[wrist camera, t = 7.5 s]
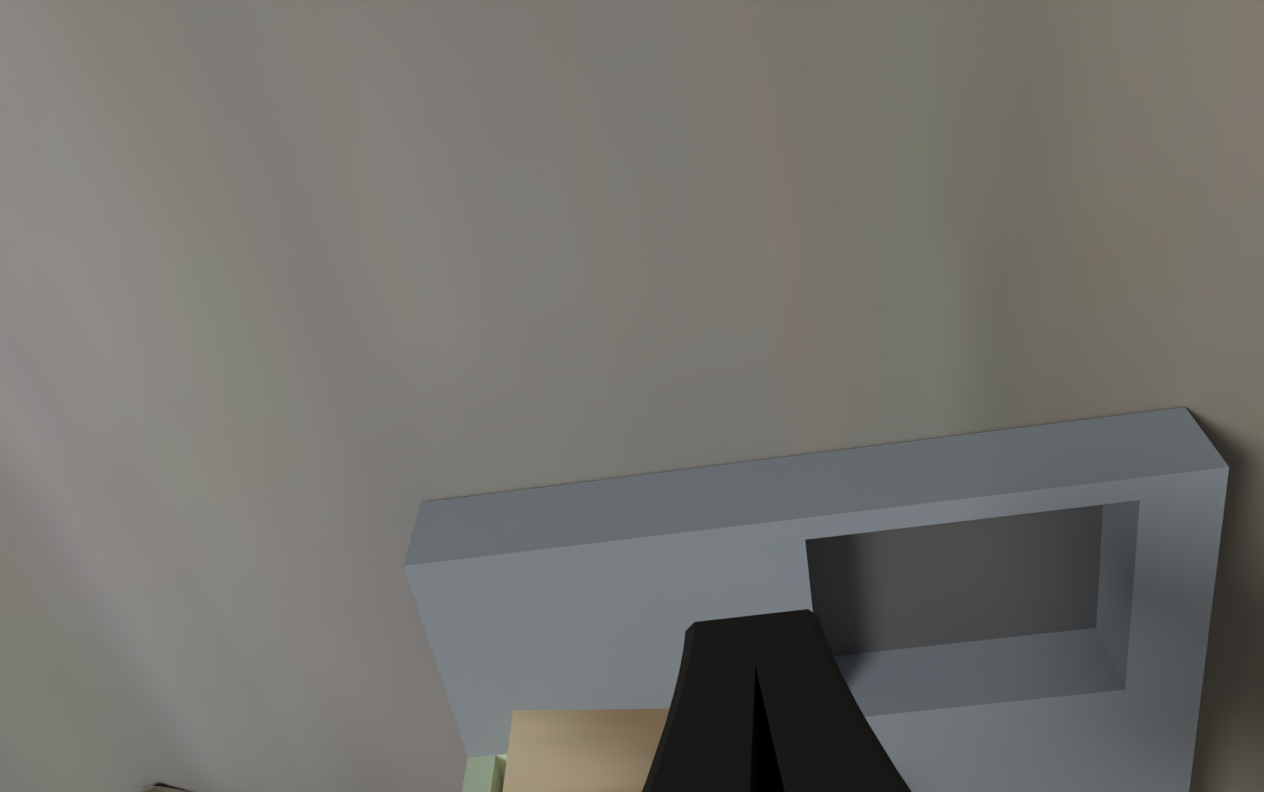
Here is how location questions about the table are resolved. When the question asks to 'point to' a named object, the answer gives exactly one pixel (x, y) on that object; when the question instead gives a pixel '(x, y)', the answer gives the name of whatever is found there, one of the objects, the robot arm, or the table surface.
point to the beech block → (582, 750)
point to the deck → (865, 595)
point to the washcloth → (159, 789)
